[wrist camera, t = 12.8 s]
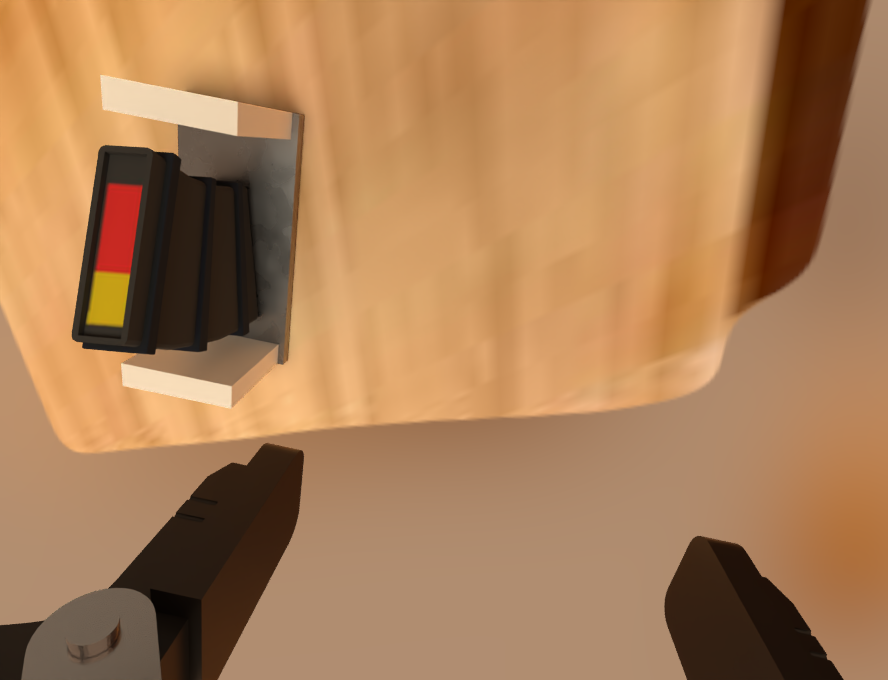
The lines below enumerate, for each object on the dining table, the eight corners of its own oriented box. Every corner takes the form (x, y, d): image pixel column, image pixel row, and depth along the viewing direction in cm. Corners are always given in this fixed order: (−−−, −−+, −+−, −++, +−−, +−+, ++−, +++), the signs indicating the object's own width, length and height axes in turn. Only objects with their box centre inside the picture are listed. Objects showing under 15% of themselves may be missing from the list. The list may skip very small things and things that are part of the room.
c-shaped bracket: (183, 91, 35) (100, 74, 27) (292, 112, 35) (237, 101, 27) (187, 344, 42) (122, 385, 35) (277, 363, 42) (231, 408, 35)
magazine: (214, 358, 41) (63, 346, 26) (233, 204, 42) (99, 107, 27) (258, 362, 40) (131, 353, 25) (276, 207, 41) (164, 110, 26)
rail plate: (185, 91, 36) (177, 90, 35) (304, 115, 36) (299, 114, 35) (189, 339, 43) (182, 343, 42) (287, 360, 43) (283, 364, 42)
